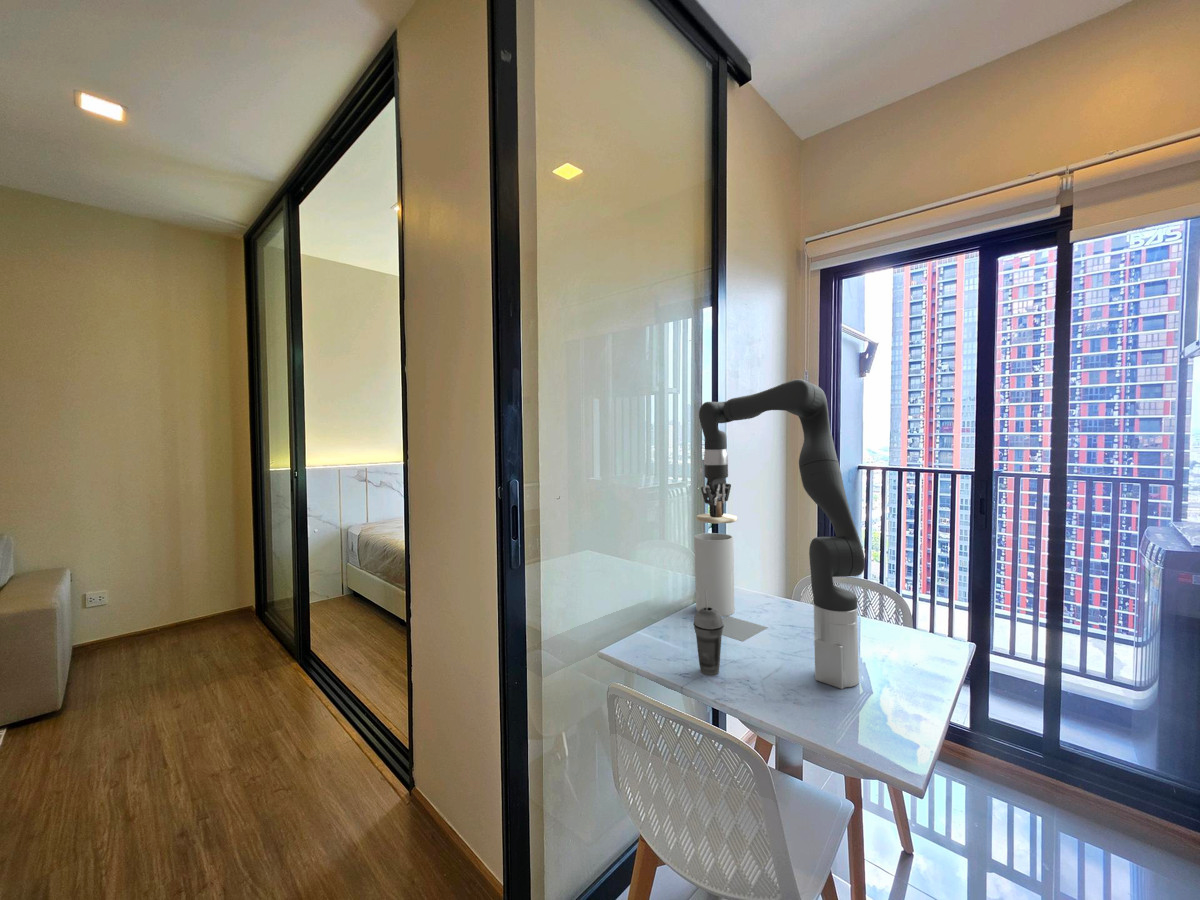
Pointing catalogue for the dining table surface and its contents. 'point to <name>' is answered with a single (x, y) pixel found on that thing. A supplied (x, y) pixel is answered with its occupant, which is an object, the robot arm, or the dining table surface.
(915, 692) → the dining table surface
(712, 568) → the cylinder vase
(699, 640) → the beverage cup
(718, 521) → the lid
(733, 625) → the mat
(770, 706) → the dining table surface
